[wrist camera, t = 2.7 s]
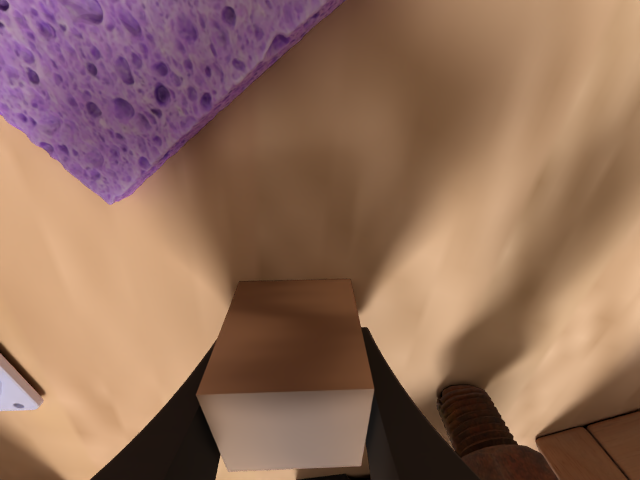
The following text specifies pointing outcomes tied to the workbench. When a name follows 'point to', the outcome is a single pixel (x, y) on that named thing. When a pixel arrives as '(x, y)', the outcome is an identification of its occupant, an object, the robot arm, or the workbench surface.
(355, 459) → the brown boxy piece
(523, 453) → the bolt
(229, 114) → the workbench surface
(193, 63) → the sponges
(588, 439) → the wooden block
